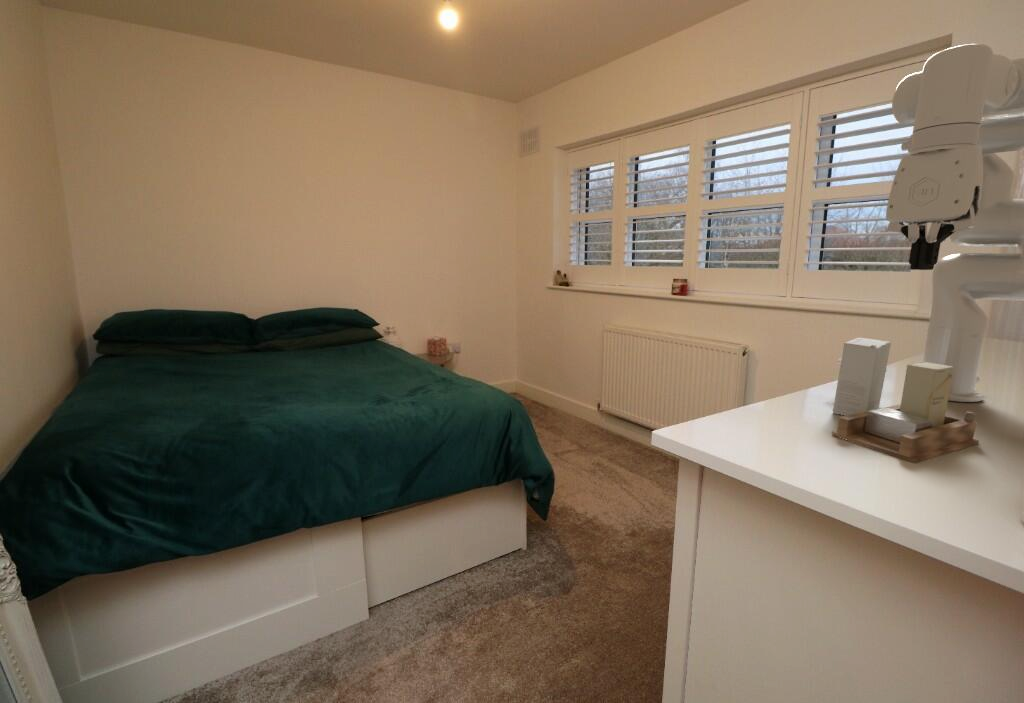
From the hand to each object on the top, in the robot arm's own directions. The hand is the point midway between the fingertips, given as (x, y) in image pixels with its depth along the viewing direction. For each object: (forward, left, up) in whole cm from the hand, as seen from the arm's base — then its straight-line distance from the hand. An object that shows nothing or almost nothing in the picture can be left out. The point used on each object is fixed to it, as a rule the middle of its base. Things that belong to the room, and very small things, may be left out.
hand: (921, 269), depth 75 cm
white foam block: (-3, -1, -28) cm, 28 cm away
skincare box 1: (-13, -13, -29) cm, 34 cm away
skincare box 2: (-10, -1, -29) cm, 30 cm away
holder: (-6, -1, -29) cm, 30 cm away
